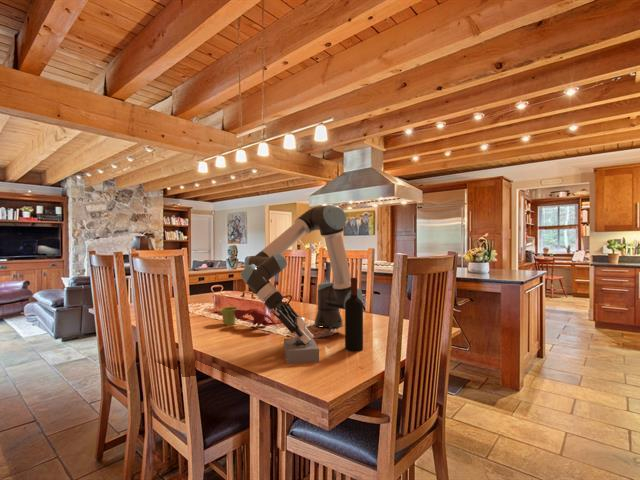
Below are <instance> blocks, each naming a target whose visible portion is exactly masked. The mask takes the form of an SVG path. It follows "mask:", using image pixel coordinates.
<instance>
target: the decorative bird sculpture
mask: <svg viewBox="0 0 640 480" xmlns="http://www.w3.org/2000/svg"><path fill="white" fill-rule="evenodd" d="M234 314H235V317H236V320H241V319H242V318H244V316H246V315H247V316H248V317H249V316H251V317H252V319H253V322H252V326H250V328H251V329H252V328H253V327H254V326H255V325H256V324H257V325H256V326H255V327H254V329H255V330H257V327H259V326H260V325H262V326H264V327H268V324H269V321H270V322H271V323H272V324H273V325H274V327H277V325H276V323H275V320H274V318H272V317H271V316H270V315H269V314H266V313H265V312H263V311H262V310H261V309H257V308H250V309H247V310H246V309H237V310H236V311H235V312H234ZM266 319H268V320H269V321H267V320H266Z"/></svg>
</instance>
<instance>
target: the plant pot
mask: <svg viewBox="0 0 640 480" xmlns="http://www.w3.org/2000/svg"><path fill="white" fill-rule="evenodd" d="M219 310H220V311H221V315H222V323H223V326H231V325H232V326H233V325H235V324H236V320H237V318H236V317H235V314H234V312H235V311H236V310H239V307H237V306H225V307H221V308H220V309H219Z"/></svg>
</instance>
